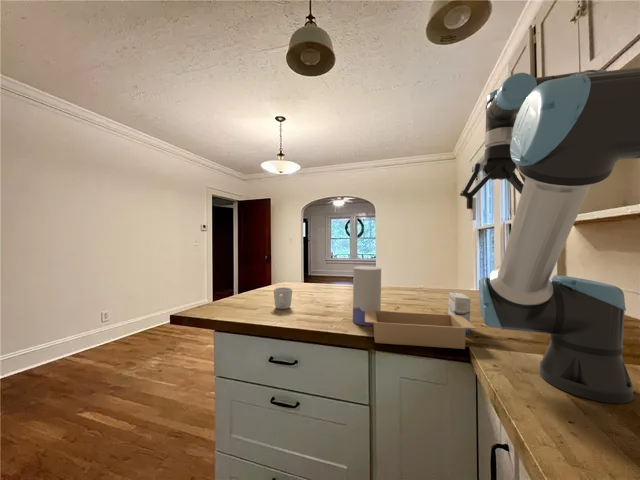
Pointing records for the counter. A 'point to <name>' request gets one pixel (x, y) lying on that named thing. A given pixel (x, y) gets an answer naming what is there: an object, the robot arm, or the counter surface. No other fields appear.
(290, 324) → the counter surface
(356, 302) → the container
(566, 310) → the robot arm
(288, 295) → the cup
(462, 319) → the carton
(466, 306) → the ink box
